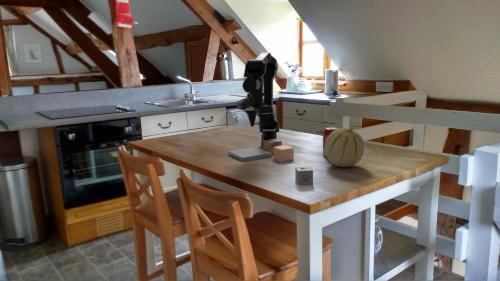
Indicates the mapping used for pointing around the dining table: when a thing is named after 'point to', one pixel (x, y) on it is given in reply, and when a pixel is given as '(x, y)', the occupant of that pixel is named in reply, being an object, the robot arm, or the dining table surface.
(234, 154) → the base board
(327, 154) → the cantaloupe
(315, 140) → the dining table surface
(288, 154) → the terracotta brick
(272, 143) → the walnut brick
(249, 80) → the robot arm
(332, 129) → the soda can
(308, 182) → the grey cube
